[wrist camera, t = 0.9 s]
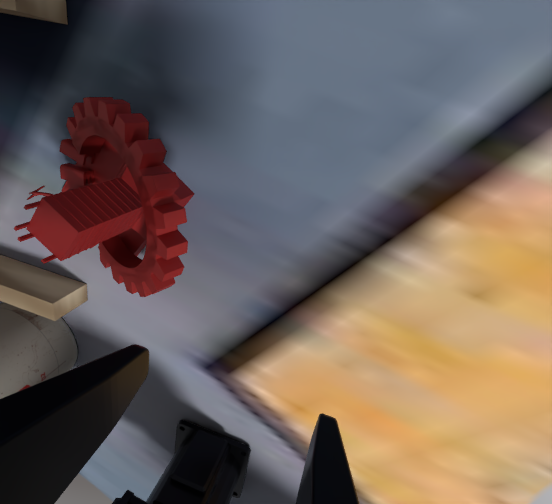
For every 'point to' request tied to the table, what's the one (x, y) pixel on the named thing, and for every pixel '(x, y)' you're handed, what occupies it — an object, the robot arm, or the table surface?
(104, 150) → the red cog wheel
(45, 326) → the thermos bottle
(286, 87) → the table surface
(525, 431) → the table surface
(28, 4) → the carrier
